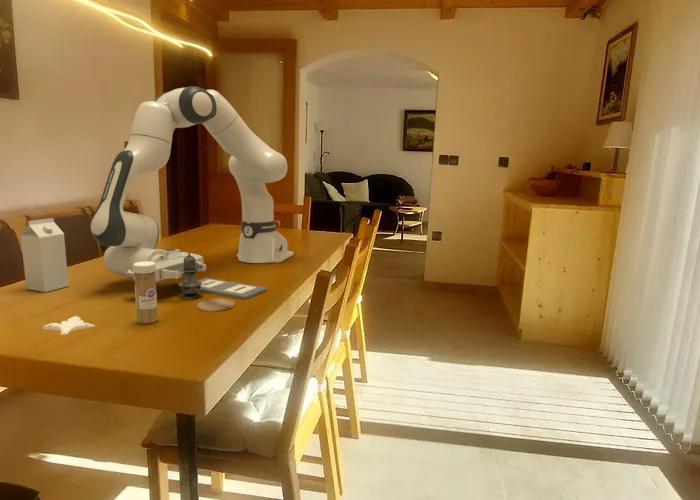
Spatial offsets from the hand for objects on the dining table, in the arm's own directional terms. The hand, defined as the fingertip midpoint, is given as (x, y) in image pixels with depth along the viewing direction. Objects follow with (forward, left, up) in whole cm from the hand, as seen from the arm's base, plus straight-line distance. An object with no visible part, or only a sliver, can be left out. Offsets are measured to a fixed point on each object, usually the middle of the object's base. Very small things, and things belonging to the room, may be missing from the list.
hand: (192, 271), depth 126 cm
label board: (-10, +2, -7) cm, 12 cm away
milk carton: (+13, -40, -7) cm, 43 cm away
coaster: (+3, +10, -7) cm, 13 cm away
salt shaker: (0, -1, -7) cm, 7 cm away
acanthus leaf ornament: (+30, -7, -8) cm, 32 cm away
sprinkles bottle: (+19, +4, -7) cm, 21 cm away
